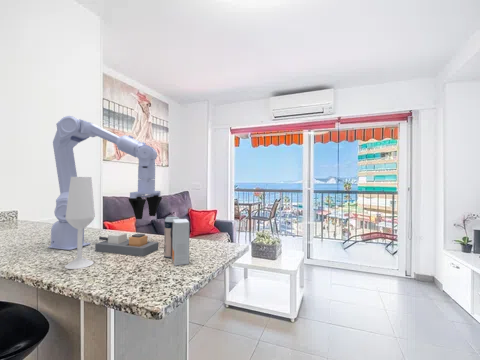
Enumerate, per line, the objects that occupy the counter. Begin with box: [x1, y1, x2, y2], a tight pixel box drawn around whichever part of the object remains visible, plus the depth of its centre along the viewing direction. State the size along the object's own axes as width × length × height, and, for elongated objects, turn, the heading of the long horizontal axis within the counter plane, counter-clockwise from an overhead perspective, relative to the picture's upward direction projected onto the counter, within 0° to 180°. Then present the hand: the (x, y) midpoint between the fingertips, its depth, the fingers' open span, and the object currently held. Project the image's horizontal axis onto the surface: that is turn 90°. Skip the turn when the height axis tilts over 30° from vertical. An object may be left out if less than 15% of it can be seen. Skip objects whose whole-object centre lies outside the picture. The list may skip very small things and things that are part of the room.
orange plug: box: [128, 233, 149, 247], centre depth 80 cm, size 4×4×6 cm
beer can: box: [163, 216, 180, 259], centre depth 75 cm, size 5×5×12 cm
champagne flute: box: [64, 176, 96, 270], centre depth 67 cm, size 7×7×24 cm
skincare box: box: [171, 218, 190, 266], centre depth 70 cm, size 6×4×12 cm
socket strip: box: [94, 232, 159, 257], centre depth 81 cm, size 20×8×5 cm, turn 76°
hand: (145, 217), depth 87 cm, fingers open, 7 cm apart
